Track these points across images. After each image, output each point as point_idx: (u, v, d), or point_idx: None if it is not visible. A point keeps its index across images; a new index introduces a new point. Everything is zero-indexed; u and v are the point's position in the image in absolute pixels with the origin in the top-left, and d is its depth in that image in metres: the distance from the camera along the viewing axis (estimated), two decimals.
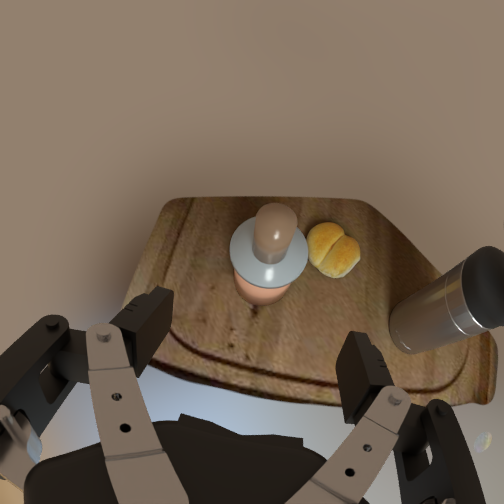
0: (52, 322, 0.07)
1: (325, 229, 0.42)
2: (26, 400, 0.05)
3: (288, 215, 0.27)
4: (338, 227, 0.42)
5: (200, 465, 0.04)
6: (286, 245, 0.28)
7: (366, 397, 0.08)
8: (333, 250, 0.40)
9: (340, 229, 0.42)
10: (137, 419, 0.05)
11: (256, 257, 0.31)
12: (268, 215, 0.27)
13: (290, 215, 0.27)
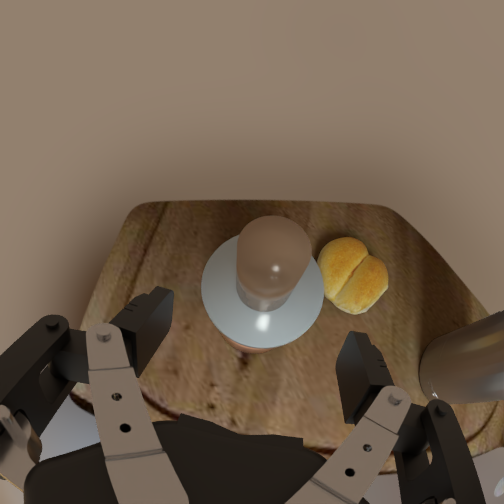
0: (52, 322, 0.07)
1: (343, 248, 0.30)
2: (26, 400, 0.05)
3: (295, 238, 0.15)
4: (360, 244, 0.31)
5: (200, 465, 0.04)
6: (291, 289, 0.16)
7: (366, 397, 0.08)
8: (354, 278, 0.28)
9: (363, 247, 0.31)
10: (137, 419, 0.05)
11: (242, 301, 0.19)
12: (260, 239, 0.15)
13: (299, 238, 0.15)
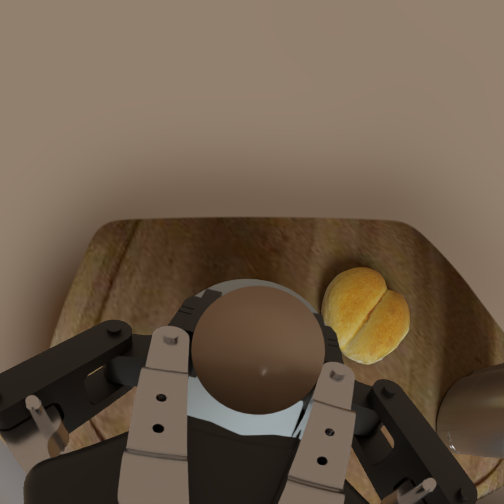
0: (114, 328, 0.08)
1: (357, 284, 0.23)
2: (65, 397, 0.06)
3: (298, 331, 0.08)
4: (378, 278, 0.24)
5: (200, 465, 0.04)
6: None
7: None
8: (371, 324, 0.21)
9: (381, 281, 0.24)
10: (173, 423, 0.05)
11: None
12: (233, 334, 0.08)
13: (304, 330, 0.08)
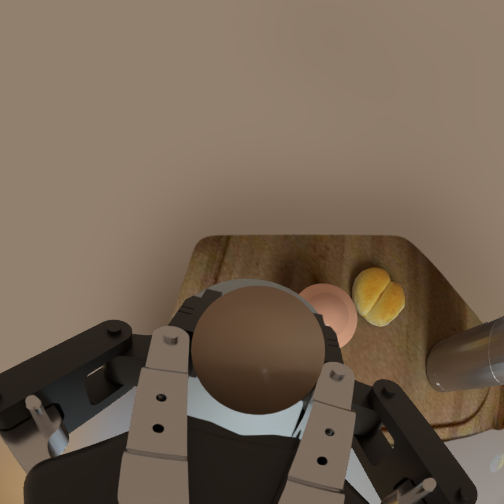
0: (114, 328, 0.08)
1: (373, 277, 0.38)
2: (65, 397, 0.06)
3: (298, 331, 0.08)
4: (385, 274, 0.39)
5: (200, 465, 0.04)
6: None
7: None
8: (381, 300, 0.37)
9: (387, 276, 0.39)
10: (173, 423, 0.05)
11: None
12: (233, 334, 0.08)
13: (304, 330, 0.08)
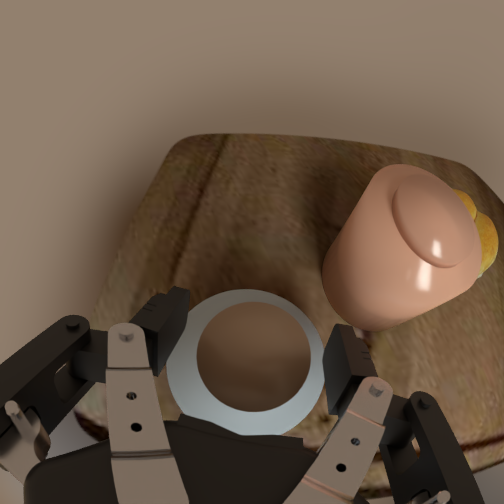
0: (72, 322, 0.07)
1: (459, 197, 0.20)
2: (39, 398, 0.05)
3: (287, 341, 0.10)
4: None
5: (200, 465, 0.04)
6: None
7: (348, 388, 0.09)
8: None
9: (472, 201, 0.21)
10: (149, 419, 0.05)
11: None
12: (232, 343, 0.09)
13: (293, 340, 0.10)
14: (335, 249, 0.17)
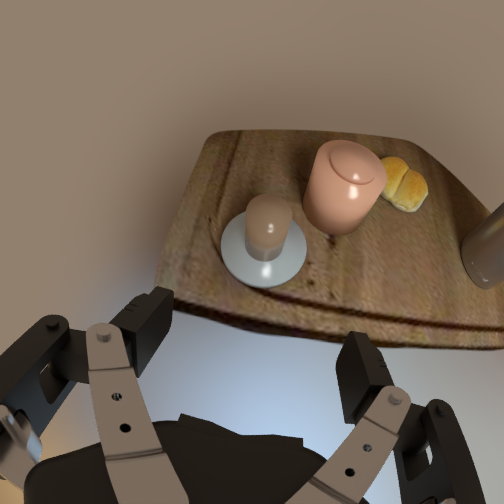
0: (52, 322, 0.07)
1: (392, 161, 0.34)
2: (26, 400, 0.05)
3: (282, 207, 0.24)
4: (403, 161, 0.35)
5: (200, 465, 0.04)
6: (281, 240, 0.25)
7: (366, 397, 0.08)
8: (405, 181, 0.33)
9: (405, 163, 0.35)
10: (137, 419, 0.05)
11: (250, 254, 0.29)
12: (260, 208, 0.24)
13: (284, 206, 0.24)
14: (307, 187, 0.32)
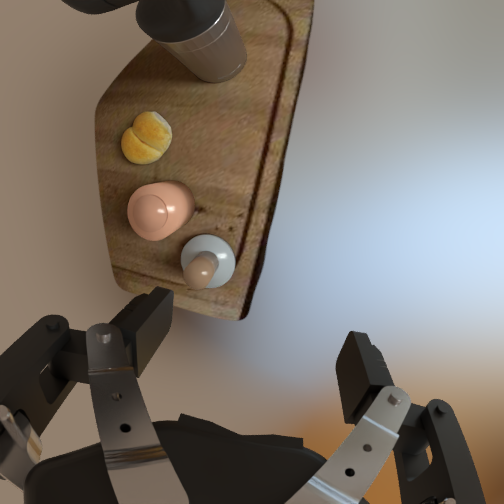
0: (52, 322, 0.07)
1: (128, 149, 0.40)
2: (26, 400, 0.05)
3: (191, 269, 0.39)
4: (125, 135, 0.39)
5: (200, 465, 0.04)
6: (210, 263, 0.41)
7: (366, 397, 0.08)
8: (147, 141, 0.39)
9: (127, 133, 0.39)
10: (137, 419, 0.05)
11: (215, 272, 0.45)
12: (193, 281, 0.40)
13: (191, 267, 0.39)
14: None
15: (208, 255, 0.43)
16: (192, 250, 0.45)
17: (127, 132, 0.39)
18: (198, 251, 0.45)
